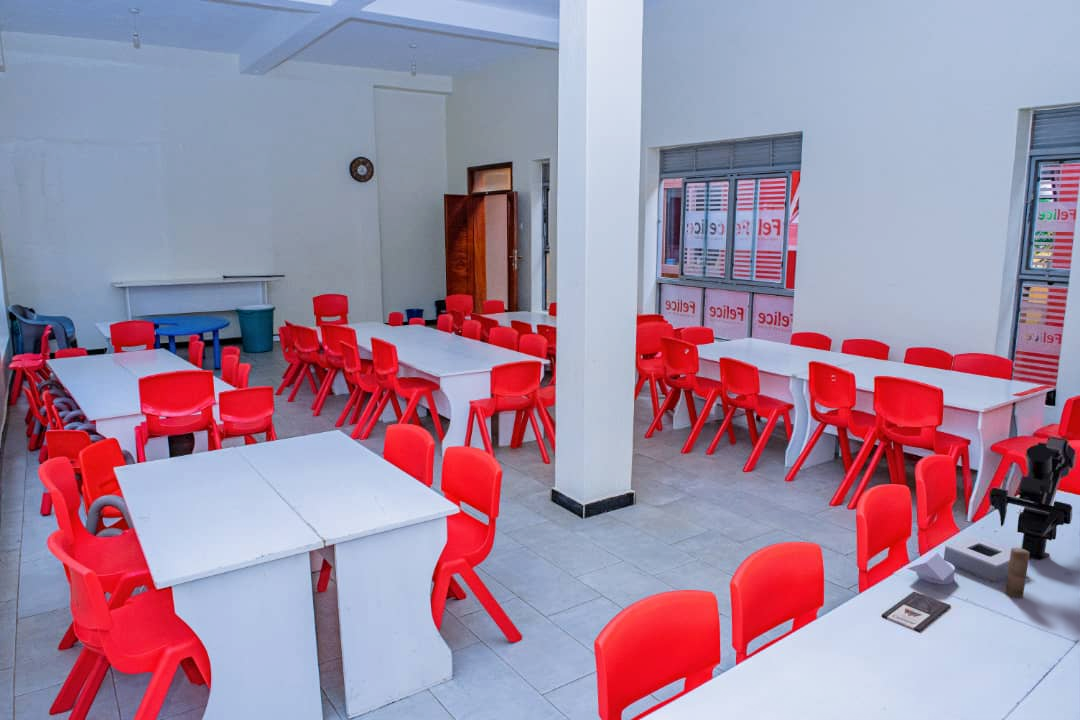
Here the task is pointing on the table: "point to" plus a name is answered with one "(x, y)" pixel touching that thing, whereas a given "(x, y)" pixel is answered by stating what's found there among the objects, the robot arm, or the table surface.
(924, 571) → the wedge on round base
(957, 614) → the table surface
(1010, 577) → the peg
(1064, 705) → the table surface
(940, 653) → the table surface
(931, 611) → the chocolate bar
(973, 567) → the box
